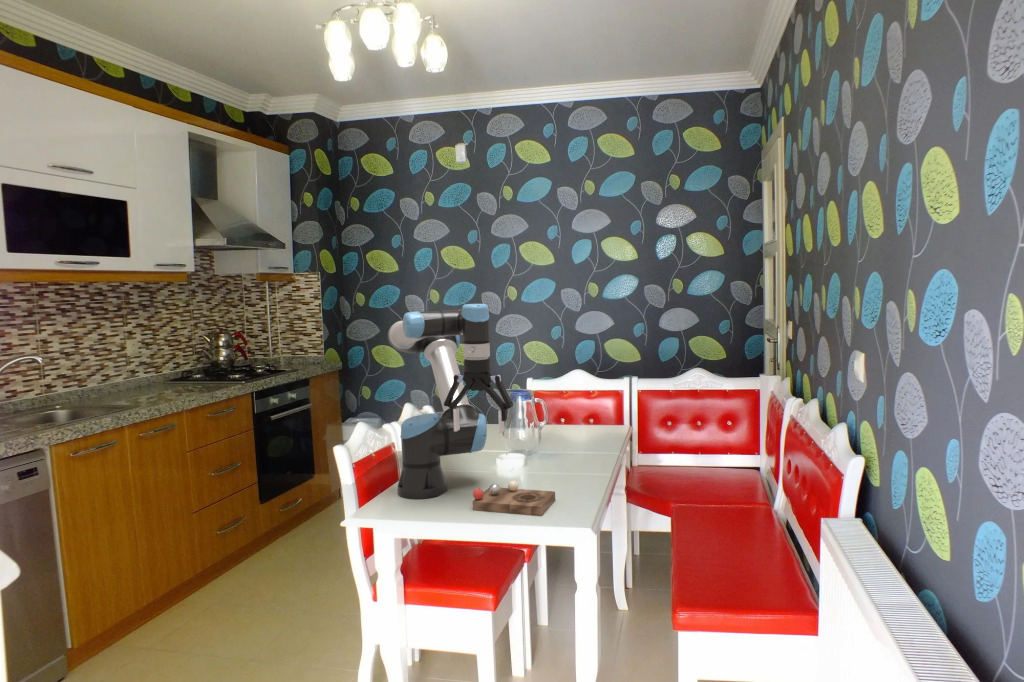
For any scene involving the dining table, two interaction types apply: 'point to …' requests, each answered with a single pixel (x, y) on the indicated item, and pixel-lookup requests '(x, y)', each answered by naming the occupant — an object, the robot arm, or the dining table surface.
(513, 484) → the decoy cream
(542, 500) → the board
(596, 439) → the dining table surface
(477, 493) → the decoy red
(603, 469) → the dining table surface
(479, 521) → the dining table surface
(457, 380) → the robot arm
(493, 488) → the steel ball
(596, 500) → the dining table surface
